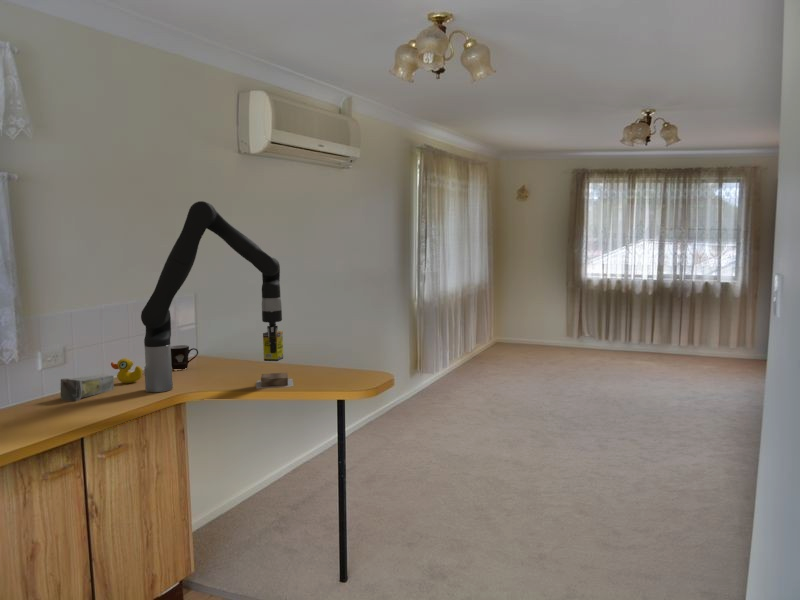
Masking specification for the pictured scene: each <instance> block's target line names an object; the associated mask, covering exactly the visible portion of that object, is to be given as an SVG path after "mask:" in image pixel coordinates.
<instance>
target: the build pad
mask: <svg viewBox="0 0 800 600" xmlns="http://www.w3.org/2000/svg"><path fill="white" fill-rule="evenodd" d="M289 387H294V380H293V378H288V386H271V387H261V379H259V380H256V384H255V389H257V390H258V389H271V388H272V389H273V388H289Z"/></svg>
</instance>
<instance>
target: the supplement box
mask: <svg viewBox="0 0 800 600" xmlns="http://www.w3.org/2000/svg"><path fill="white" fill-rule="evenodd" d="M276 336H277V337H276V353H270V343H269V338H268V331H266V332H263V333H262V345H263V347H262V348H263V349H262V351H263V362H279V361H281V360H283V359H284V339H283V337H284V336H283V331H279V330H278V331H277V333H276ZM271 339H275V338H271Z"/></svg>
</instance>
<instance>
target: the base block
mask: <svg viewBox="0 0 800 600" xmlns="http://www.w3.org/2000/svg"><path fill="white" fill-rule="evenodd" d="M260 376H261V377H260V380H261V387H271V386H288V379H289V377H288V372H276V373H275V372H273V373H261V375H260Z"/></svg>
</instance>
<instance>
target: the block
mask: <svg viewBox="0 0 800 600" xmlns="http://www.w3.org/2000/svg"><path fill="white" fill-rule="evenodd" d="M114 379H115V378H114V375H113V374H96V375H88V376H81V377H80V376H79V377H73V378H60V400H61V401H68V402H69V401H70V402H71V401H72V402H79V401H81V399H83V398H87V397H92V396H94V395H95V396H96V395H100V394H104V393H107V392H110V391H113V390H115V389H114V388H115V387H114V382H115V381H114Z"/></svg>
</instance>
